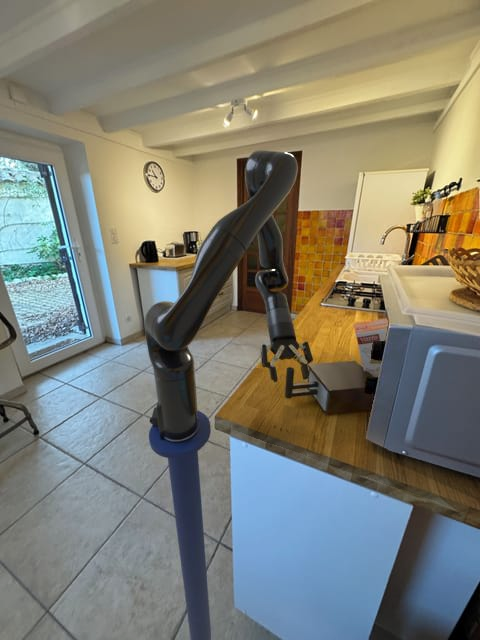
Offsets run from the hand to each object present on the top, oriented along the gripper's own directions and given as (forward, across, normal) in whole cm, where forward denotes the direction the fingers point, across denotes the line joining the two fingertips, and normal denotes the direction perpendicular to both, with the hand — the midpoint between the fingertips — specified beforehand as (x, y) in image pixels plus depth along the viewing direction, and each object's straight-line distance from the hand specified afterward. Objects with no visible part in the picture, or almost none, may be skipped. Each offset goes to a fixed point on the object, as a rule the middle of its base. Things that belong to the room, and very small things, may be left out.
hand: (290, 380), depth 69 cm
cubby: (+5, +16, +6) cm, 18 cm away
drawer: (+5, +11, +6) cm, 13 cm away
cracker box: (+3, +32, +4) cm, 33 cm away
